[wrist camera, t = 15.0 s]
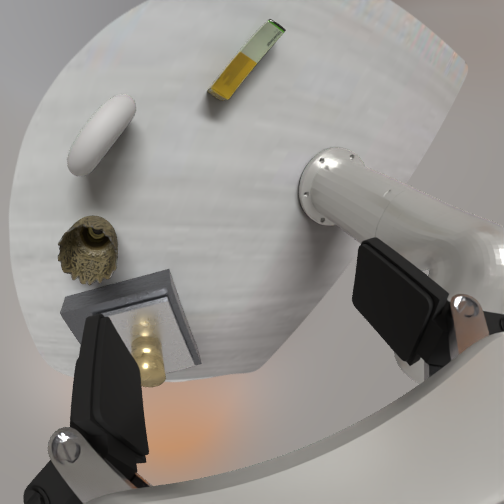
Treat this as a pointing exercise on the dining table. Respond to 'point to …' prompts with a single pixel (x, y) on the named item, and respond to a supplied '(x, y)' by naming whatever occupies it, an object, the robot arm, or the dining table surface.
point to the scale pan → (154, 330)
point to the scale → (127, 303)
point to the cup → (89, 250)
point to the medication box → (245, 60)
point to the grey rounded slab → (100, 134)
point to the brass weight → (149, 360)
